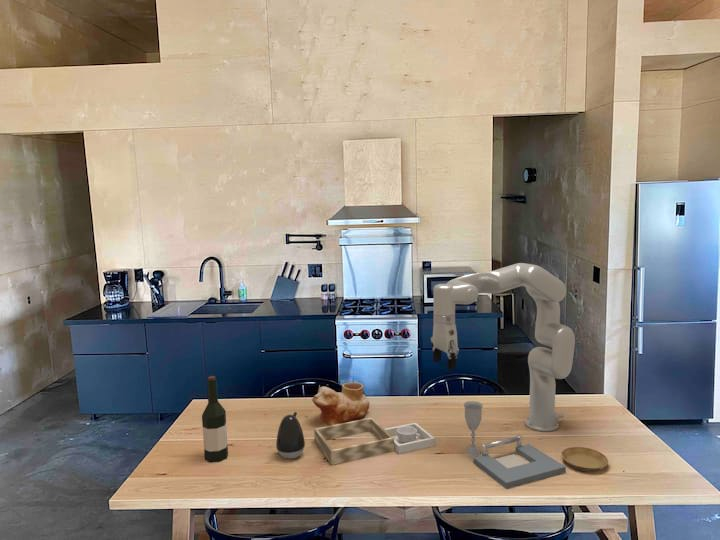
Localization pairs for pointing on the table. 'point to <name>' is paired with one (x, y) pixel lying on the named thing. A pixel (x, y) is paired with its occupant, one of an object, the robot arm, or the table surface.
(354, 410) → the ceramic vessel
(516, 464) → the felt pad
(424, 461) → the table surface
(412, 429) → the teacup
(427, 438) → the square frame
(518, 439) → the metal bar handle
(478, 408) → the chalice
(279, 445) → the dark grey pear figure
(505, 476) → the grey rectangular frame
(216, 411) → the wine bottle
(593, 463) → the plant saucer
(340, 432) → the beige brown patterned tray
